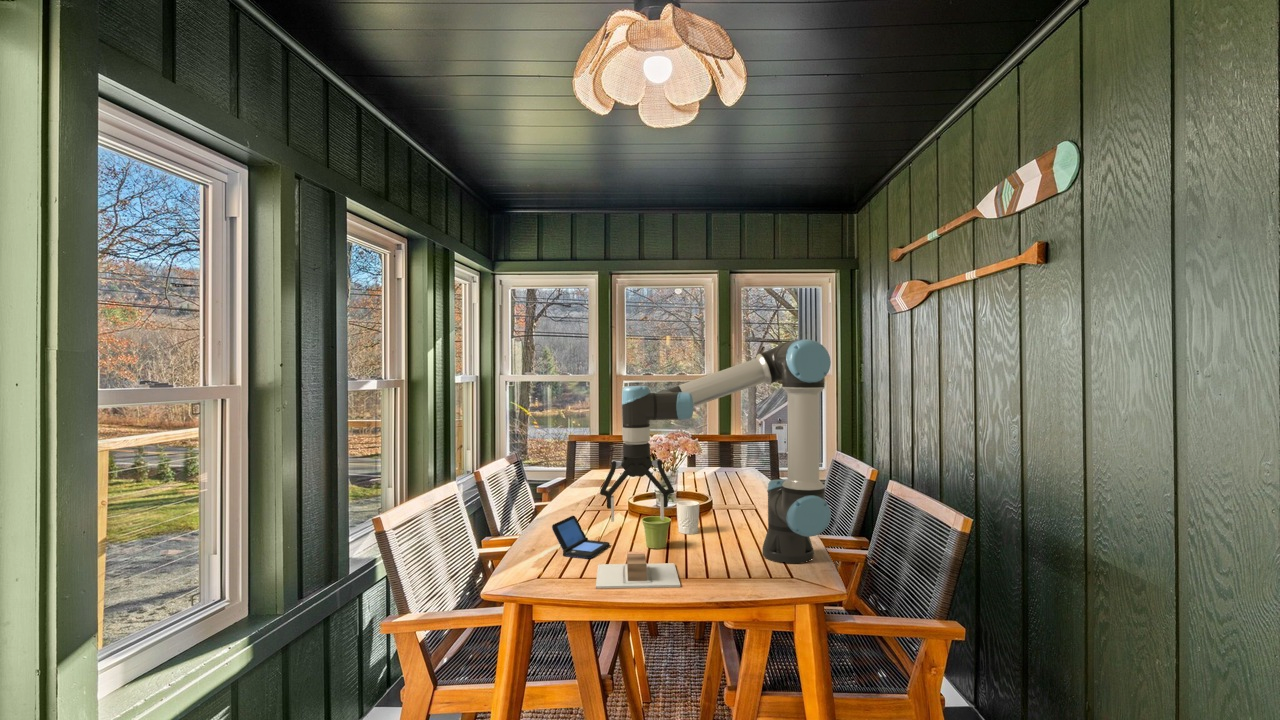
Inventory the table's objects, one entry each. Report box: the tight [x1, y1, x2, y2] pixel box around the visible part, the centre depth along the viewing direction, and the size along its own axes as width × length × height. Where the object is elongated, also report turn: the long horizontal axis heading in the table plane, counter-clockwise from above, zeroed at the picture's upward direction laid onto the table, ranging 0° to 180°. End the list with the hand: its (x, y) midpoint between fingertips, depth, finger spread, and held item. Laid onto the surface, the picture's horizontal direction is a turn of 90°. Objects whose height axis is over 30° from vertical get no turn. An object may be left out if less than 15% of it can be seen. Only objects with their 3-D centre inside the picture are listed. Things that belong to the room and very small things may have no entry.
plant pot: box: [641, 515, 672, 550], centre depth 203 cm, size 9×9×9 cm
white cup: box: [676, 500, 700, 535], centre depth 221 cm, size 8×8×10 cm
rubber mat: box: [595, 562, 681, 589], centre depth 175 cm, size 22×18×1 cm
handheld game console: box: [551, 515, 610, 560], centre depth 200 cm, size 16×13×9 cm
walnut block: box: [626, 551, 648, 581], centre depth 175 cm, size 11×5×4 cm, turn 2°
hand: (637, 519), depth 175 cm, fingers open, 13 cm apart
